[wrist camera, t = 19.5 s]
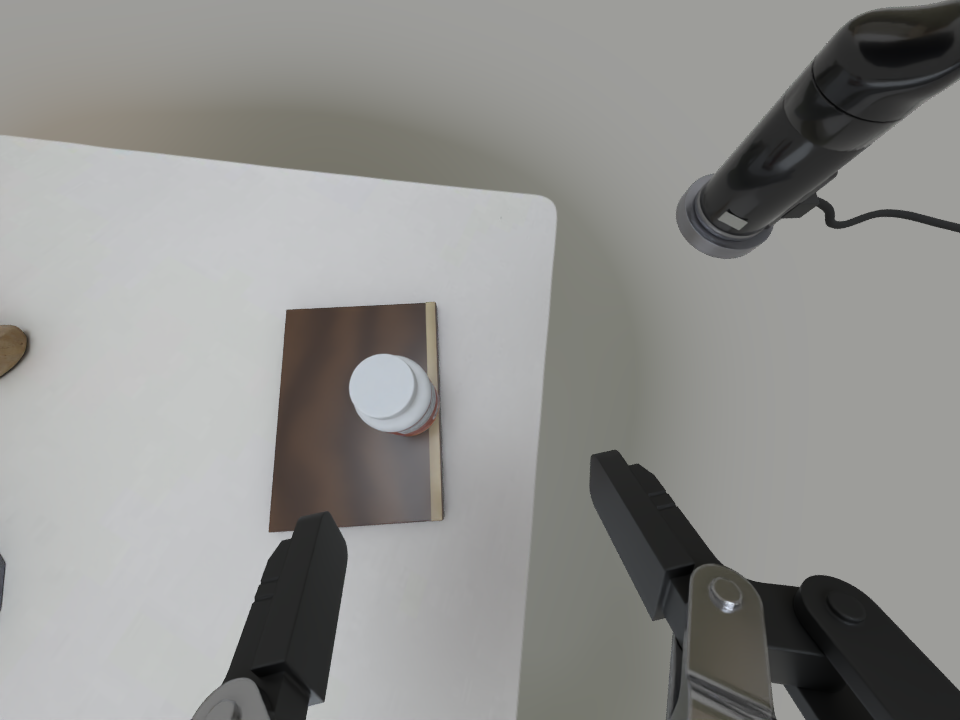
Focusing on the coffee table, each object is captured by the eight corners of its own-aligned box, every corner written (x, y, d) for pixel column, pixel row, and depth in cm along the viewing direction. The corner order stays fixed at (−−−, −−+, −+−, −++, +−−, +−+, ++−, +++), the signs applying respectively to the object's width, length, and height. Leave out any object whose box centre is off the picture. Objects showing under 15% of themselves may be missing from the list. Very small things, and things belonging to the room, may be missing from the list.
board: (437, 307, 41) (435, 301, 39) (444, 517, 35) (443, 520, 34) (292, 314, 40) (285, 309, 39) (276, 529, 34) (267, 533, 33)
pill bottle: (367, 397, 36) (321, 372, 26) (419, 364, 37) (395, 327, 27) (399, 449, 35) (364, 447, 24) (452, 414, 36) (441, 396, 25)
